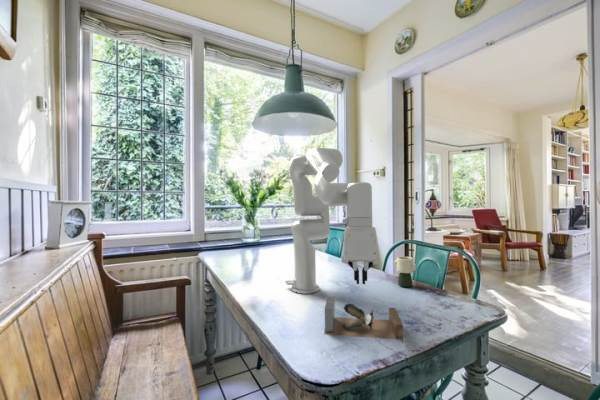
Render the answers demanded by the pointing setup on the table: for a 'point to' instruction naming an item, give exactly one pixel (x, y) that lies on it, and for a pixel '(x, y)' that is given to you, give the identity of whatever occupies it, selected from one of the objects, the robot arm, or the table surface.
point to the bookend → (330, 314)
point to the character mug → (405, 270)
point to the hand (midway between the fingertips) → (360, 282)
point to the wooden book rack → (379, 327)
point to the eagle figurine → (359, 314)
